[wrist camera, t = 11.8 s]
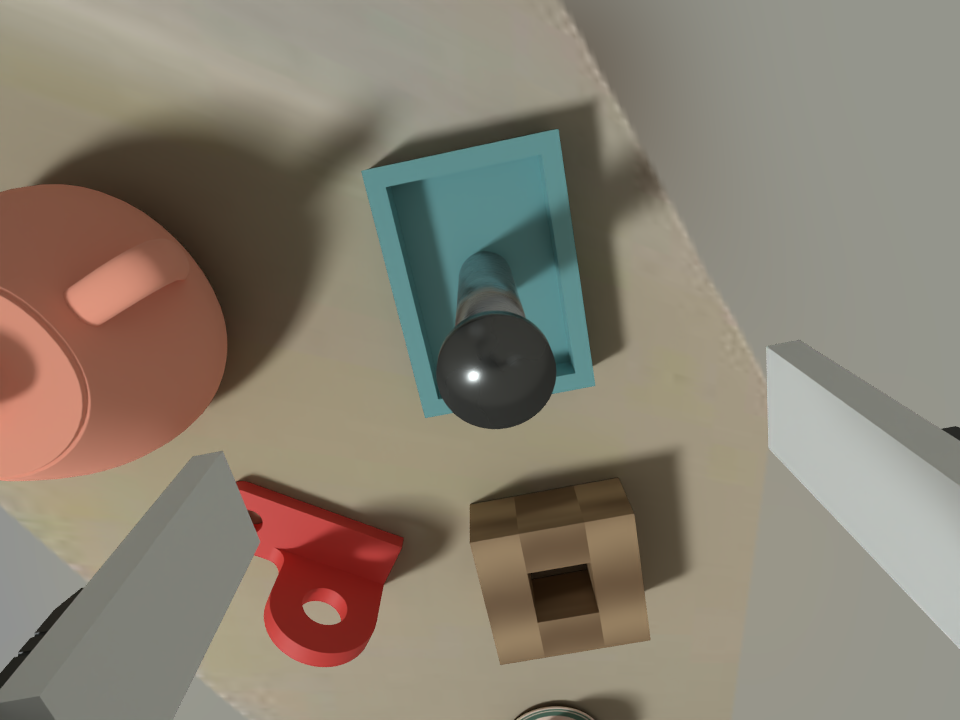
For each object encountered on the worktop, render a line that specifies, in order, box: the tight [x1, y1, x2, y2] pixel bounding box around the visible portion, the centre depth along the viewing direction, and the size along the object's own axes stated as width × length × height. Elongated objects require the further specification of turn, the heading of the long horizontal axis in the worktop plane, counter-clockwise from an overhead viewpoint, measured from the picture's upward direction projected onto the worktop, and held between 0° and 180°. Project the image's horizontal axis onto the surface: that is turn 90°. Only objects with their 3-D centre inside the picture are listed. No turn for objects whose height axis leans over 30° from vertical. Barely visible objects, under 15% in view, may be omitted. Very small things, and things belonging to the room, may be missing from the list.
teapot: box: [0, 184, 227, 481], centre depth 29 cm, size 22×15×12 cm
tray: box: [361, 129, 595, 418], centre depth 33 cm, size 14×10×2 cm
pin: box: [436, 251, 556, 429], centre depth 27 cm, size 4×4×15 cm
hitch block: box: [470, 478, 650, 665], centre depth 39 cm, size 10×10×4 cm
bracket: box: [236, 481, 404, 667], centre depth 37 cm, size 12×4×8 cm, turn 66°
